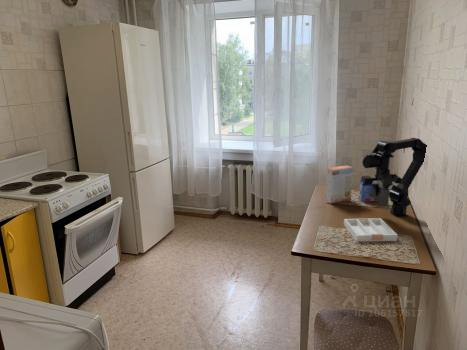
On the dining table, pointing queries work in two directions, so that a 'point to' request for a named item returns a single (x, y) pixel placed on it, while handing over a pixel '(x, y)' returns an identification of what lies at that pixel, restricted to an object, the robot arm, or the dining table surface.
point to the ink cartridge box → (365, 192)
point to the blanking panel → (381, 194)
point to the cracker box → (339, 184)
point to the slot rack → (370, 229)
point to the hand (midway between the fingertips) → (379, 195)
